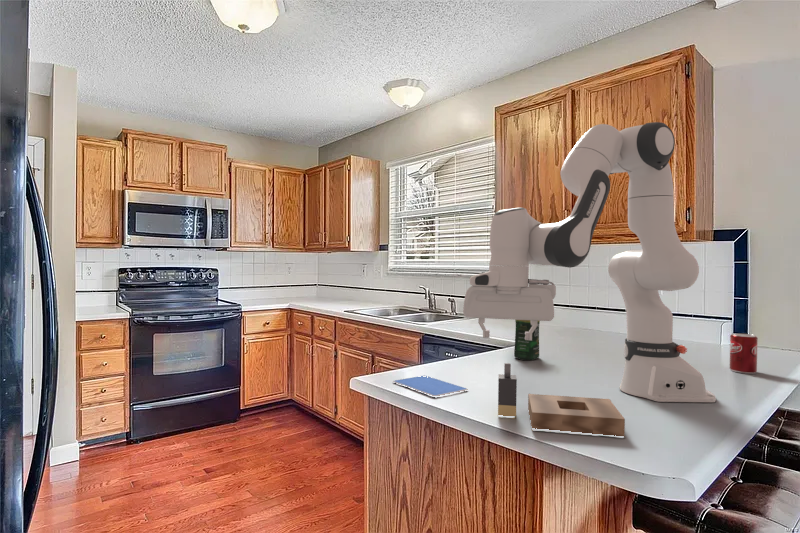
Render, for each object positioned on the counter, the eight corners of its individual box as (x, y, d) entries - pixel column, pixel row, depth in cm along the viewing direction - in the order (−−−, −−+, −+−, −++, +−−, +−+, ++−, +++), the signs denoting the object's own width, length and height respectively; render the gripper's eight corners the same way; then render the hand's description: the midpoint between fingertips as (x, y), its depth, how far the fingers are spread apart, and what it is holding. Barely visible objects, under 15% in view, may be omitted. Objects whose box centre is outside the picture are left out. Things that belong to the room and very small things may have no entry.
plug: (515, 413, 111) (516, 362, 111) (516, 419, 107) (516, 366, 107) (498, 412, 112) (498, 361, 112) (498, 417, 108) (498, 365, 108)
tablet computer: (391, 384, 138) (391, 380, 138) (425, 378, 145) (425, 374, 145) (434, 401, 122) (434, 396, 122) (469, 393, 129) (469, 388, 129)
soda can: (732, 373, 153) (733, 335, 153) (726, 368, 160) (727, 332, 160) (760, 375, 150) (760, 337, 150) (752, 370, 157) (753, 334, 157)
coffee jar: (532, 362, 167) (533, 309, 167) (511, 358, 172) (511, 307, 171) (542, 357, 175) (543, 307, 174) (522, 354, 179) (522, 305, 179)
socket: (609, 416, 109) (609, 399, 109) (624, 438, 96) (624, 419, 96) (528, 410, 113) (528, 393, 113) (531, 431, 99) (532, 412, 99)
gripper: (554, 279, 110) (553, 339, 110) (465, 276, 114) (464, 334, 114) (557, 280, 104) (556, 343, 104) (463, 277, 108) (461, 338, 108)
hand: (507, 338), depth 109 cm, fingers open, 8 cm apart
